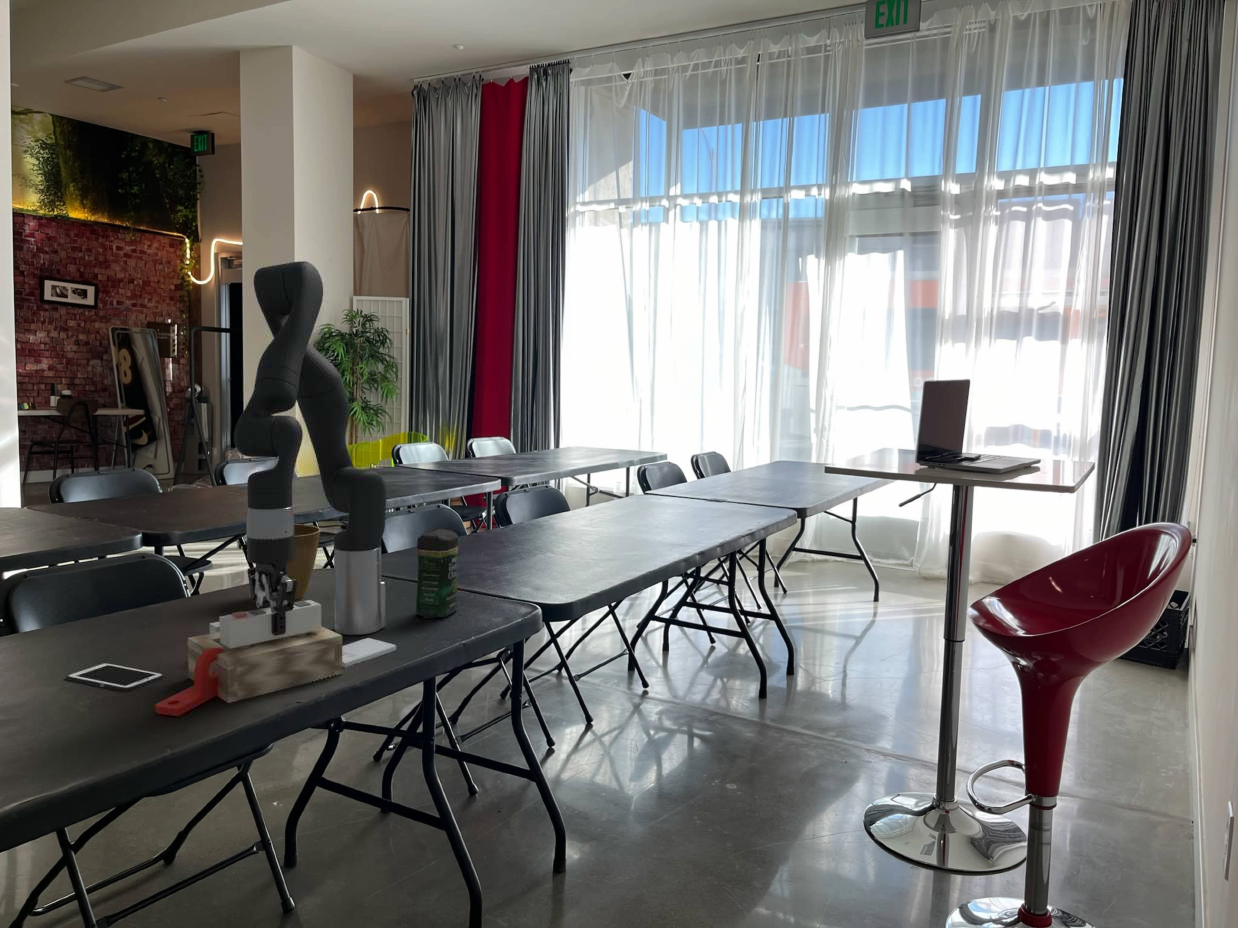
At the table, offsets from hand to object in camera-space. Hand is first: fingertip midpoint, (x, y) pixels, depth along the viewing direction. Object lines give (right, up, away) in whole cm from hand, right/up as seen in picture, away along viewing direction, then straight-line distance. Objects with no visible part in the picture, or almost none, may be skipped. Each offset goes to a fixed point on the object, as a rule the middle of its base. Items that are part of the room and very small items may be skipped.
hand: (272, 630), depth 151 cm
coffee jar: (+19, -5, +44) cm, 48 cm away
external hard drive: (+10, -8, +15) cm, 20 cm away
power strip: (0, -5, 0) cm, 5 cm away
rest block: (-14, -7, +13) cm, 20 cm away
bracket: (-9, -9, -10) cm, 16 cm away
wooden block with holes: (-2, -8, +3) cm, 9 cm away
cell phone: (-27, -9, 0) cm, 28 cm away
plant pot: (-18, -3, +54) cm, 57 cm away
